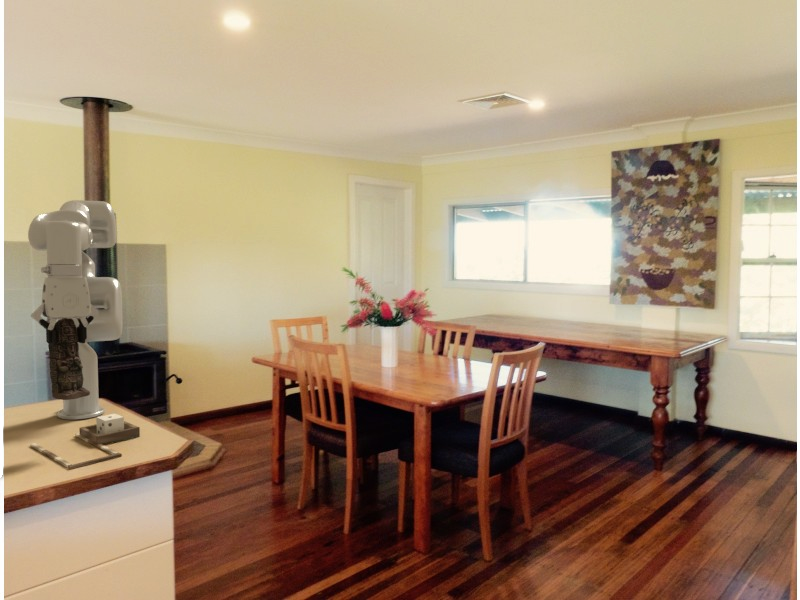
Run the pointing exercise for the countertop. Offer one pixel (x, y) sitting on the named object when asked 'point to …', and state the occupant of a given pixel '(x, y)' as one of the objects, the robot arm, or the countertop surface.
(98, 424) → the die
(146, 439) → the countertop surface
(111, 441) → the dice tray
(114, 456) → the brown rectangular frame
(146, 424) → the countertop surface
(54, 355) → the statue
